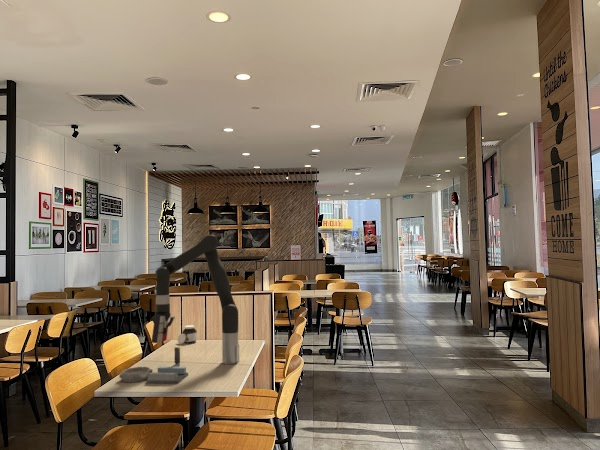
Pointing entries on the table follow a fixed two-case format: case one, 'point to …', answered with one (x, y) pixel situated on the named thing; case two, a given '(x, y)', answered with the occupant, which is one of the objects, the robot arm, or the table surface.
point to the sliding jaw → (175, 367)
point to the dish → (135, 374)
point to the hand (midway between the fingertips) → (163, 334)
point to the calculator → (158, 329)
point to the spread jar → (188, 335)
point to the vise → (165, 378)
